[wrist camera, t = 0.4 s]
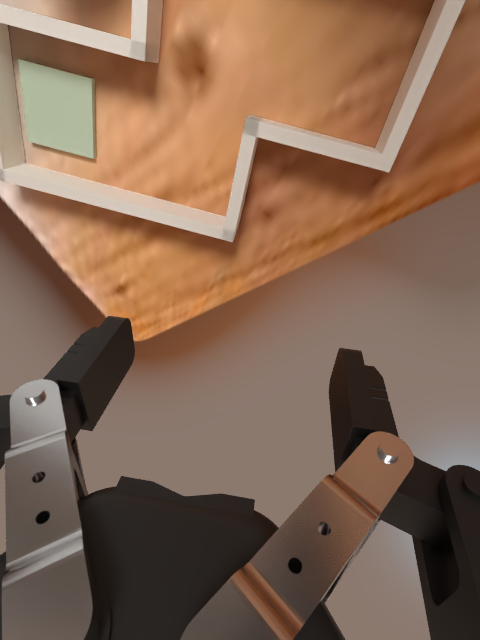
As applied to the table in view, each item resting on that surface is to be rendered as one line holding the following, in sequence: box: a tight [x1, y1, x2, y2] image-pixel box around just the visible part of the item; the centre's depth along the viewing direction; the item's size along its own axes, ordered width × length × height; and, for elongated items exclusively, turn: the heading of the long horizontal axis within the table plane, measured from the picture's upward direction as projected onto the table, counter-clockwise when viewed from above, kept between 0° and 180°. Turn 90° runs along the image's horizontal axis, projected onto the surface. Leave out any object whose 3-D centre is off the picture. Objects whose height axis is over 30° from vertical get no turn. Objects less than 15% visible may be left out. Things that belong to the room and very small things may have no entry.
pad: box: [18, 59, 96, 159], centre depth 35 cm, size 7×7×1 cm
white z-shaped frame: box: [0, 0, 465, 242], centre depth 31 cm, size 24×37×4 cm, turn 78°
